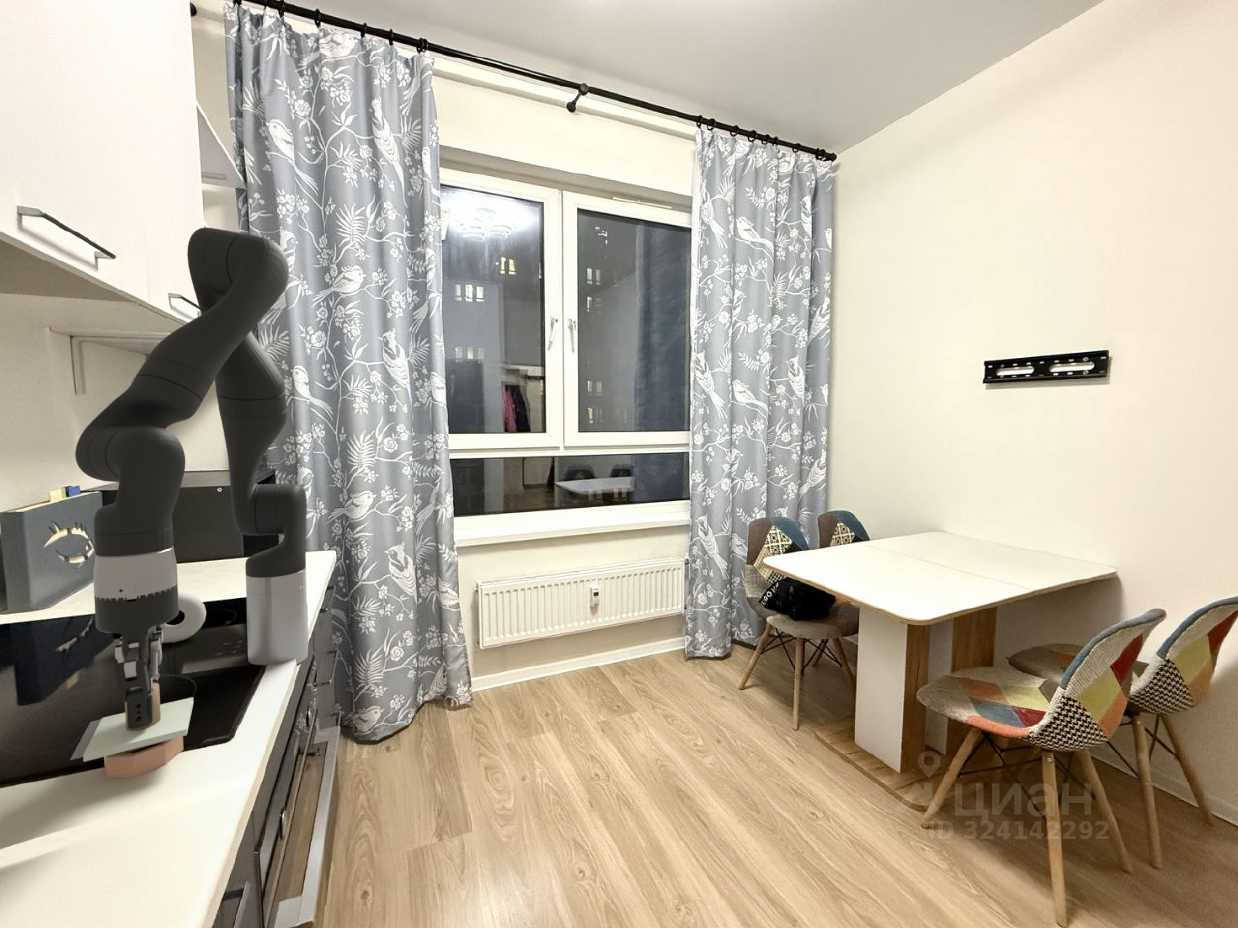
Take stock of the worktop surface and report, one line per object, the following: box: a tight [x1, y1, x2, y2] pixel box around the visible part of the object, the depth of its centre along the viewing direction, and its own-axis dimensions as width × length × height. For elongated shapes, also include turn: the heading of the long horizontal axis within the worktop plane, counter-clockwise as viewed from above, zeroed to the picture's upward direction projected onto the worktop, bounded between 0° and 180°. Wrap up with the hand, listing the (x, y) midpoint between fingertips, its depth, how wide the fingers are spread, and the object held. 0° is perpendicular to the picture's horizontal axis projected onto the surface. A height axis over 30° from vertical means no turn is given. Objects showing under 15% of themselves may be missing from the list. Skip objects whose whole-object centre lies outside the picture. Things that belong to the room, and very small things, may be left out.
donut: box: [161, 592, 207, 644], centre depth 101 cm, size 10×4×10 cm, turn 126°
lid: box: [82, 682, 194, 763], centre depth 64 cm, size 9×9×5 cm
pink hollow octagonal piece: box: [103, 736, 184, 779], centre depth 64 cm, size 7×7×4 cm
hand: (143, 718), depth 64 cm, fingers closed on lid, 3 cm apart
